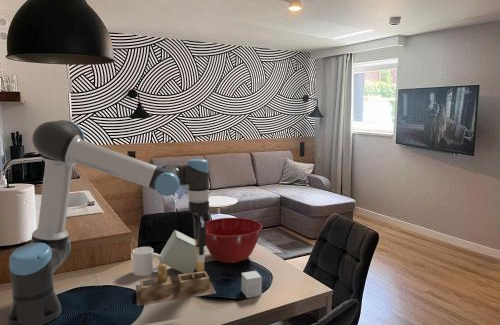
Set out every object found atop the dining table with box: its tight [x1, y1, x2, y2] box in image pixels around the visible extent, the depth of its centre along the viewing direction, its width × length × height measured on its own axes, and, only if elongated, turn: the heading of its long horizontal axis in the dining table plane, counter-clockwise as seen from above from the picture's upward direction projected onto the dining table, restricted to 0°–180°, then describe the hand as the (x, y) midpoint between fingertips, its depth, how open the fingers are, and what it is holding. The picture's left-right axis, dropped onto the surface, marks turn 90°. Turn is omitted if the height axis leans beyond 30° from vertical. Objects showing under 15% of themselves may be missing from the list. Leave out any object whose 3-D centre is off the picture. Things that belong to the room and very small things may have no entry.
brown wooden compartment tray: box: [135, 263, 217, 307], centre depth 139 cm, size 28×16×11 cm, turn 109°
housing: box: [159, 229, 206, 274], centre depth 156 cm, size 14×10×12 cm
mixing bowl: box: [205, 217, 263, 264], centre depth 172 cm, size 28×28×16 cm
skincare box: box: [241, 270, 263, 299], centre depth 139 cm, size 6×6×7 cm
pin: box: [194, 239, 205, 272], centre depth 141 cm, size 3×3×12 cm
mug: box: [132, 246, 163, 277], centre depth 154 cm, size 12×8×10 cm
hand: (200, 260), depth 142 cm, fingers closed on pin, 3 cm apart
